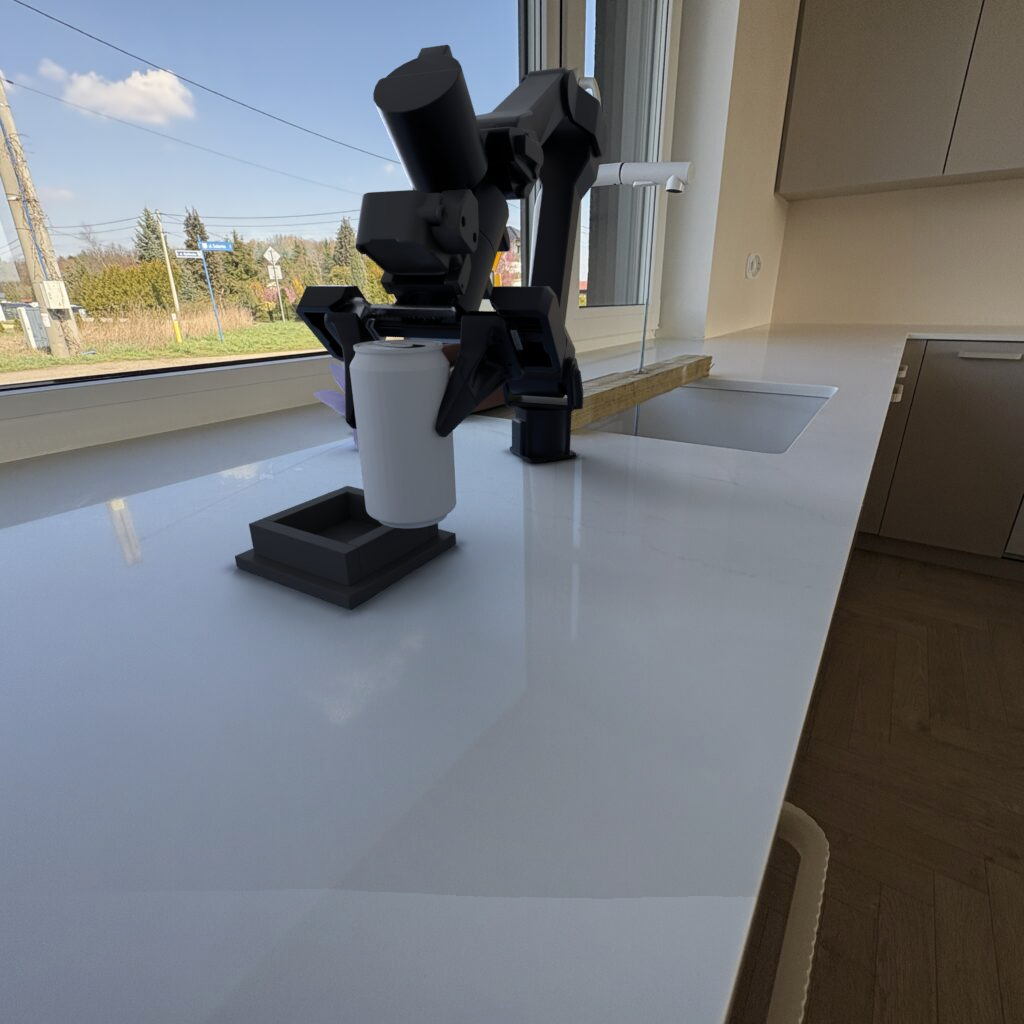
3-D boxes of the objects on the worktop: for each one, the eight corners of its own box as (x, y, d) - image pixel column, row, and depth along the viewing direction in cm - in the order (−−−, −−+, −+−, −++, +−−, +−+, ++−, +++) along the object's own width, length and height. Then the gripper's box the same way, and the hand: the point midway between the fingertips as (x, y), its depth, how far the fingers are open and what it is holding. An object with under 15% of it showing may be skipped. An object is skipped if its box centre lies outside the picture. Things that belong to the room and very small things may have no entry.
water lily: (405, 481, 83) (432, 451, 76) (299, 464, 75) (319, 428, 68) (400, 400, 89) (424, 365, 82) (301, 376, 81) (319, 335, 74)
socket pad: (351, 515, 53) (347, 480, 52) (456, 543, 47) (454, 504, 46) (236, 567, 43) (227, 525, 42) (350, 610, 38) (344, 563, 36)
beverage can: (422, 540, 37) (408, 350, 32) (347, 522, 40) (324, 344, 35) (473, 507, 42) (467, 339, 37) (403, 493, 45) (390, 335, 40)
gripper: (292, 156, 38) (193, 344, 33) (560, 134, 32) (493, 357, 27) (369, 281, 48) (302, 441, 43) (584, 281, 42) (539, 466, 37)
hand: (394, 429), depth 37 cm, fingers closed on beverage can, 6 cm apart
